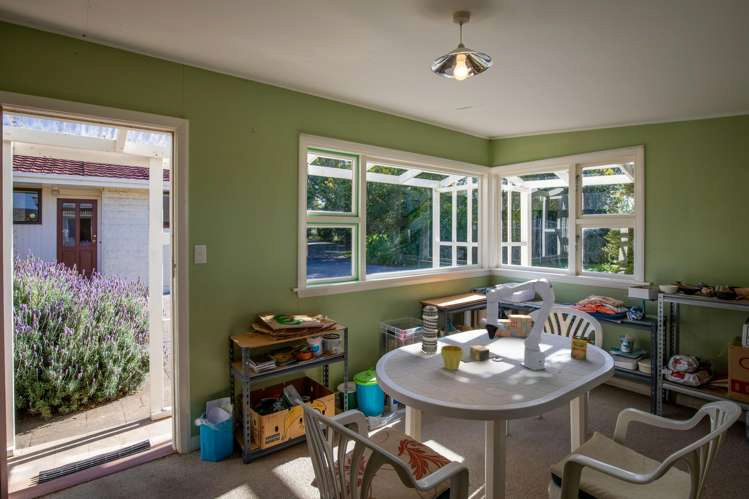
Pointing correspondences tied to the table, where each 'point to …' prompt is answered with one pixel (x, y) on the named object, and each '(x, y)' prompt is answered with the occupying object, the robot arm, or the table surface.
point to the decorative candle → (429, 329)
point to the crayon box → (579, 347)
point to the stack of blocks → (515, 326)
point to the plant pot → (451, 356)
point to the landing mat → (468, 358)
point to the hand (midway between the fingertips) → (491, 338)
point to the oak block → (479, 352)
